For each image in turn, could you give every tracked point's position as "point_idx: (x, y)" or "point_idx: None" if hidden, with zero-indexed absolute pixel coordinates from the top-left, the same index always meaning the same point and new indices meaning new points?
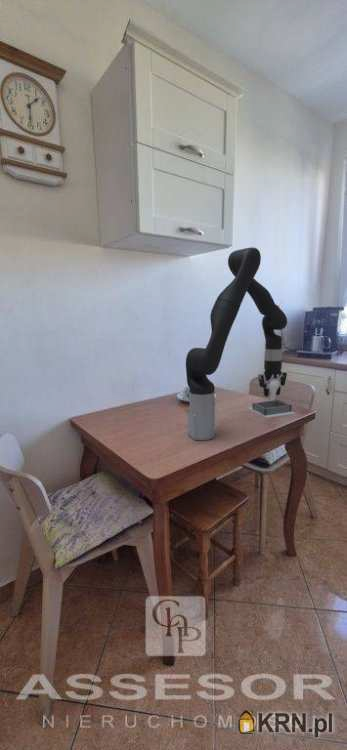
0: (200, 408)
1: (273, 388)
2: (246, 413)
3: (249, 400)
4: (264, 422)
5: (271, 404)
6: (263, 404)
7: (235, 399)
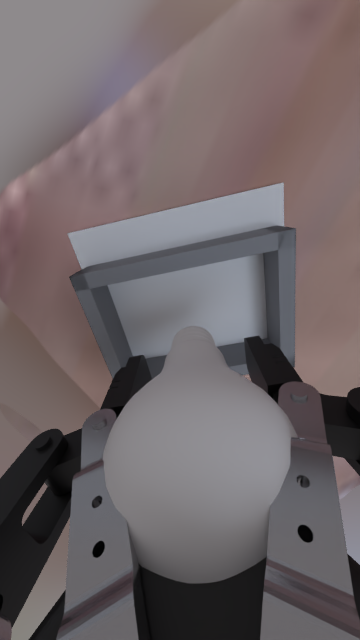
0: None
1: (219, 367)
2: (339, 300)
3: None
4: (350, 92)
5: None
6: None
7: None
